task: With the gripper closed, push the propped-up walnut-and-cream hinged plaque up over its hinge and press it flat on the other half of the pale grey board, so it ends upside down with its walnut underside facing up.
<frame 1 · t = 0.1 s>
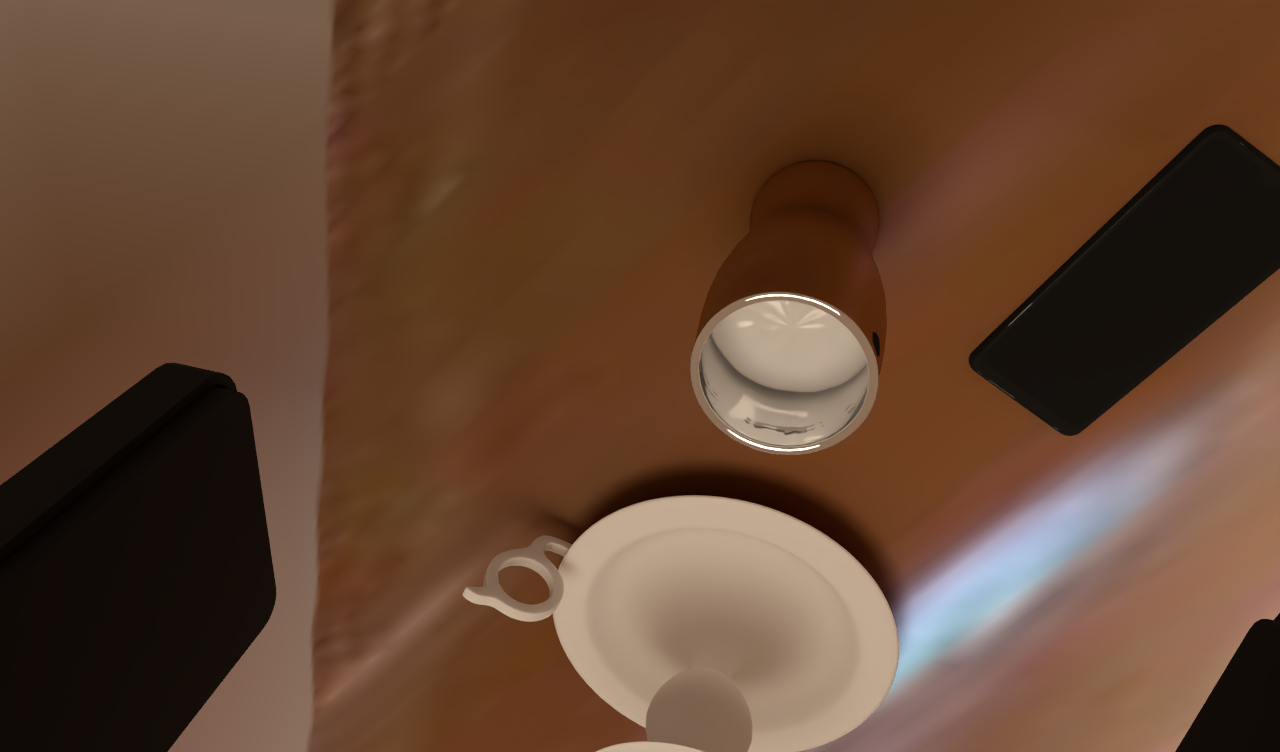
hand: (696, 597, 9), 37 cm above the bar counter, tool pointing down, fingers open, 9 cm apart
smartphone: (1133, 288, 45), on the bar counter
beer glass: (814, 220, 46), on the bar counter
candlestick: (697, 583, 59), on the bar counter
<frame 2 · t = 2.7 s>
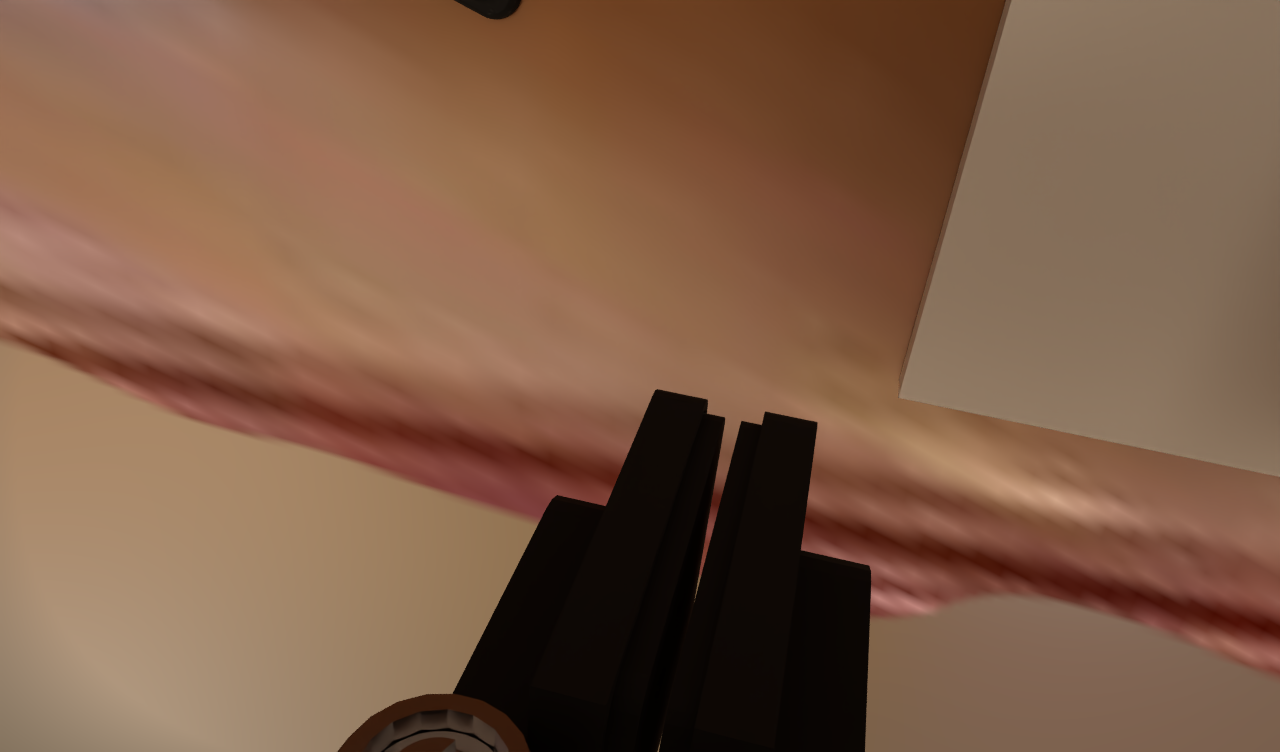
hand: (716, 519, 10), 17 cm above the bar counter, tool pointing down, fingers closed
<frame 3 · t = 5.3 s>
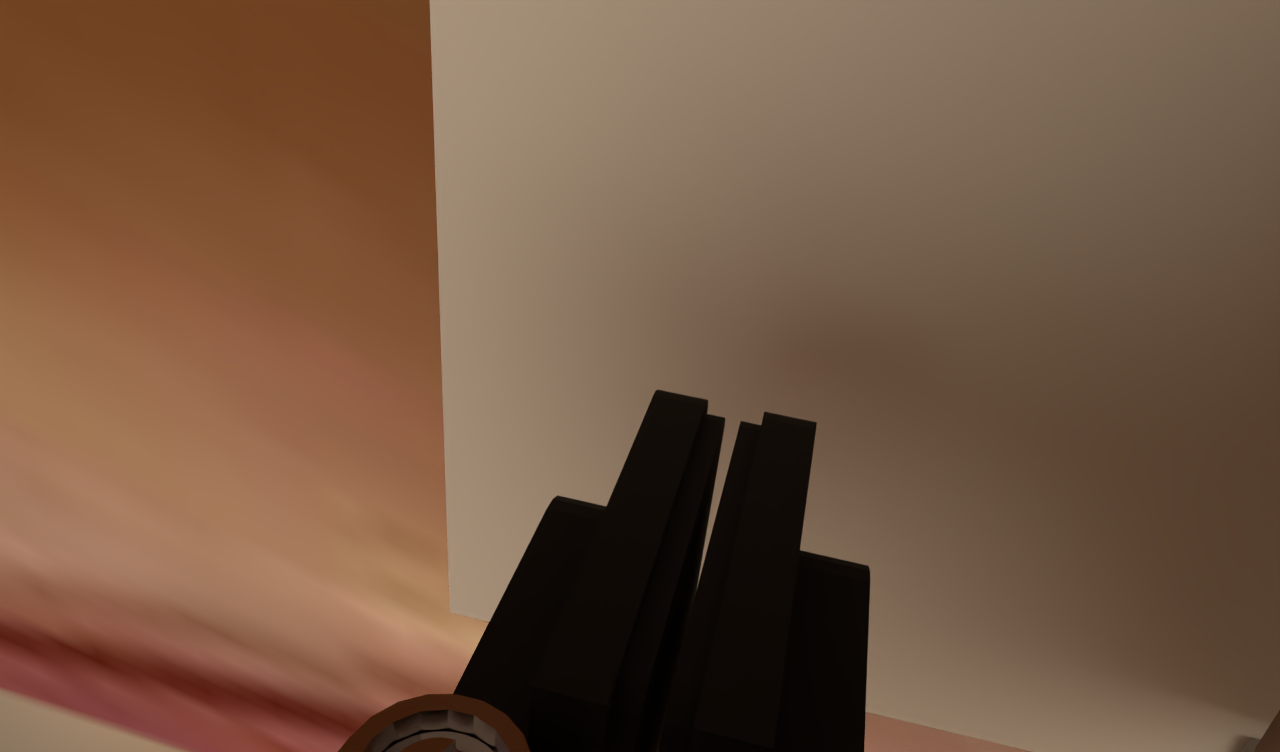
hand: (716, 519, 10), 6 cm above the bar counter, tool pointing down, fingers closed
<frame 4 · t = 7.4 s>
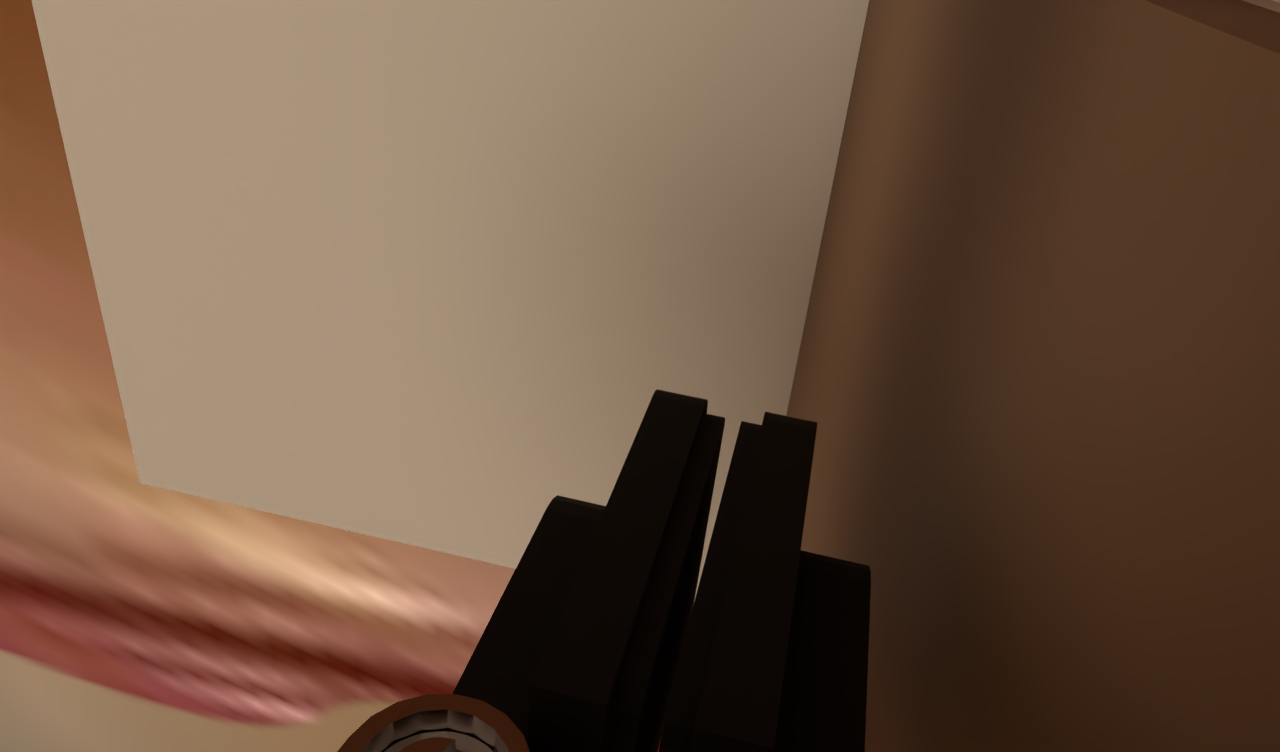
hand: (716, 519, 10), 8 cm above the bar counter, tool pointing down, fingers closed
flip plaque: (965, 630, 10), point 9 cm above the bar counter, hinge at 102.3°
plaque base: (844, 266, 17), on the bar counter
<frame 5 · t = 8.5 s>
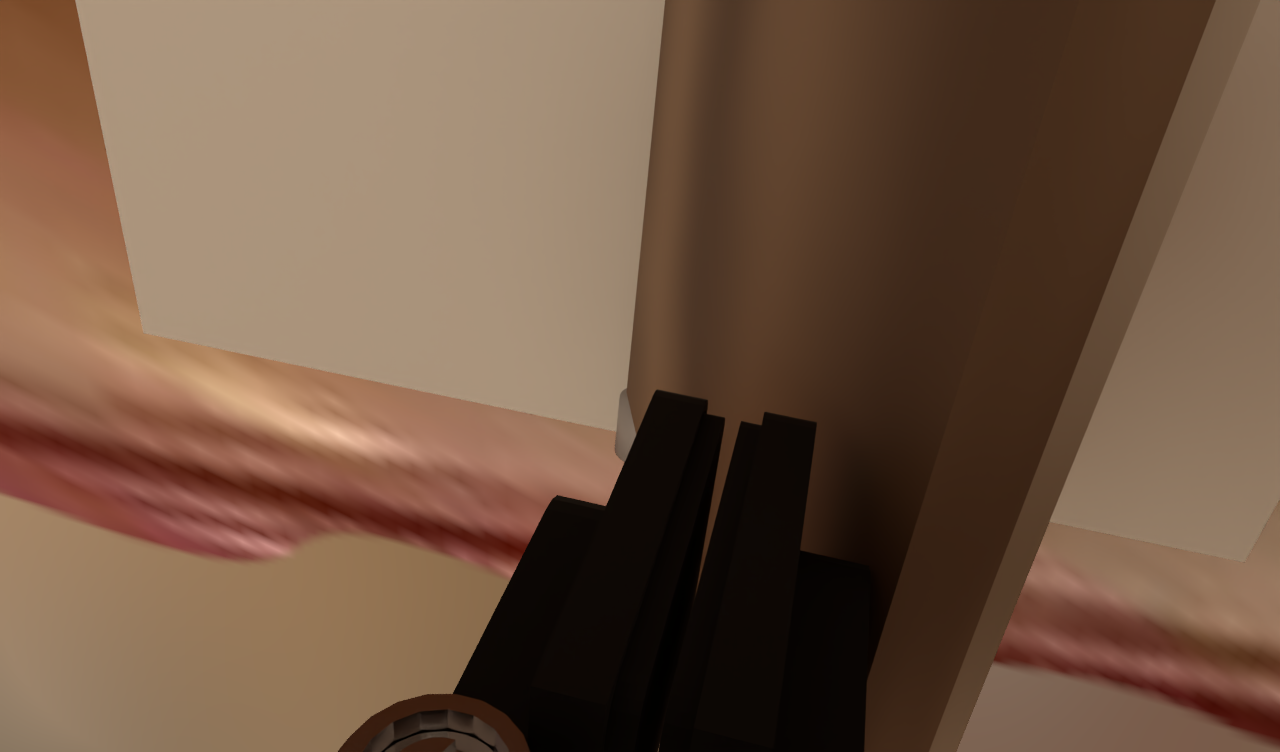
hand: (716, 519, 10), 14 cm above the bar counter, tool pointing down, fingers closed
flip plaque: (753, 310, 15), point 8 cm above the bar counter, hinge at 111.0°, touching gripper
plaque base: (688, 133, 22), on the bar counter
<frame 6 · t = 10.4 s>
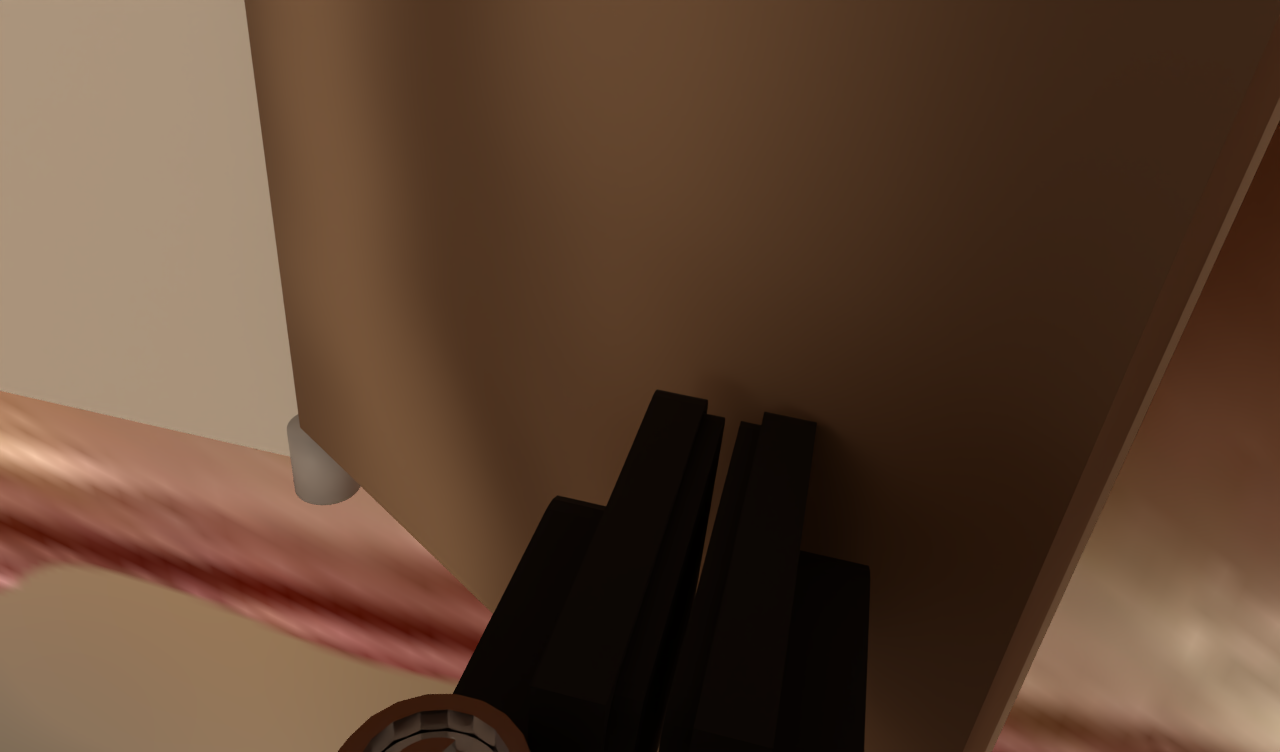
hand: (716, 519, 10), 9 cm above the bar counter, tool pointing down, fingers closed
flip plaque: (552, 294, 13), point 6 cm above the bar counter, hinge at 147.3°, touching gripper
plaque base: (332, 106, 18), on the bar counter
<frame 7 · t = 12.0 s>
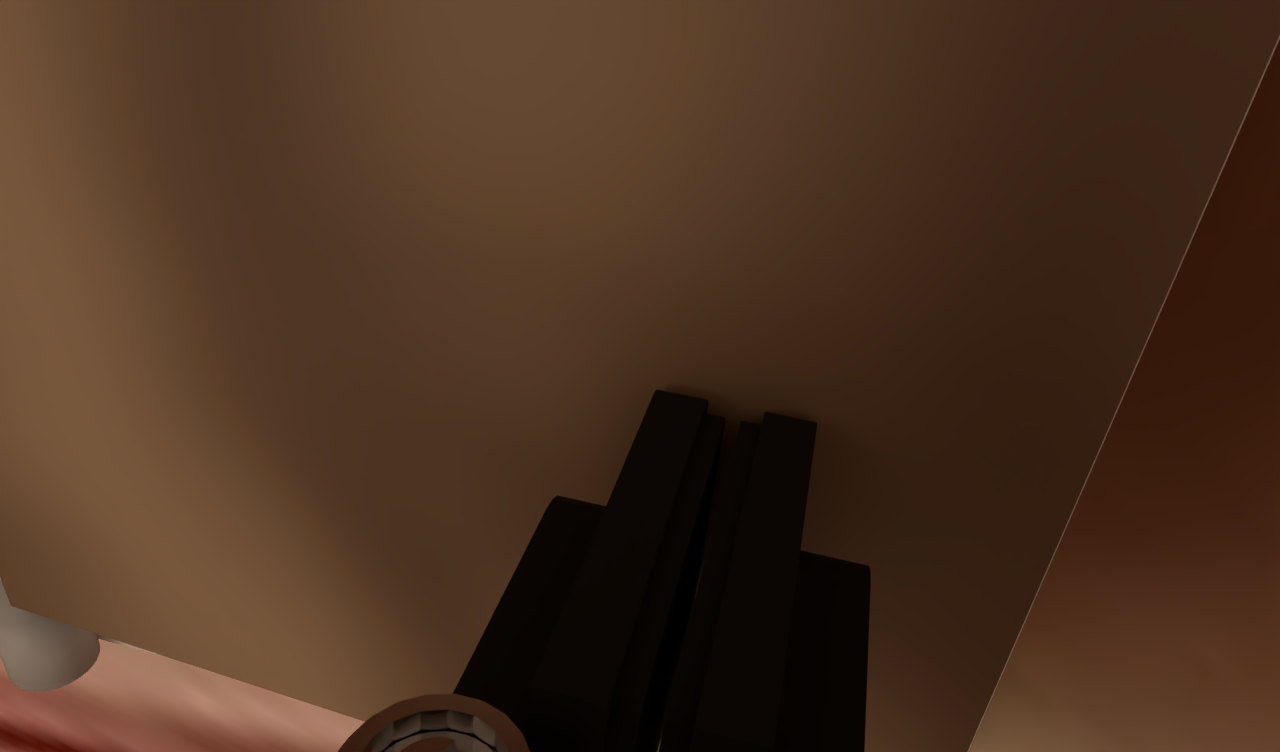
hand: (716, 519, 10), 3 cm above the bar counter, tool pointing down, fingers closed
flip plaque: (419, 365, 11), point 2 cm above the bar counter, hinge at 176.8°, touching gripper
plaque base: (3, 197, 14), on the bar counter
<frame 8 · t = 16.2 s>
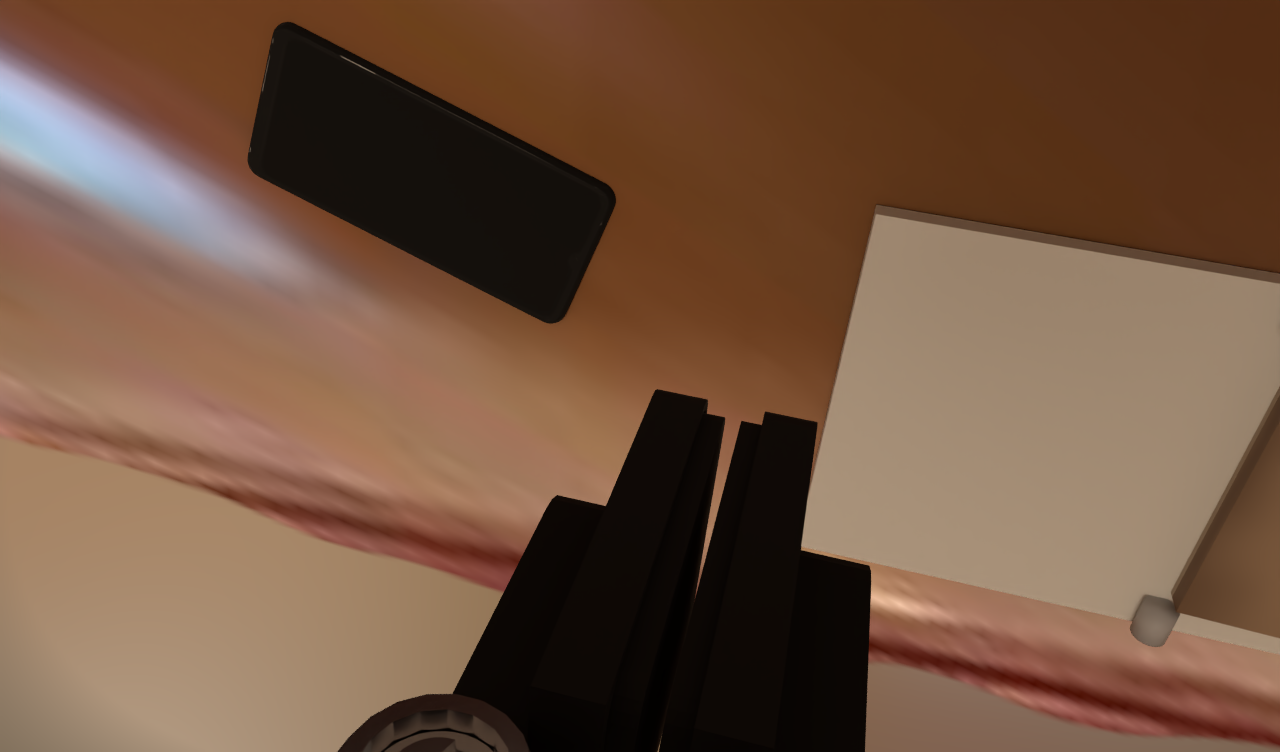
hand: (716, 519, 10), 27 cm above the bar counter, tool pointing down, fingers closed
plaque base: (1214, 461, 38), on the bar counter
smartphone: (432, 174, 40), on the bar counter
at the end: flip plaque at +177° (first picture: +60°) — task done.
